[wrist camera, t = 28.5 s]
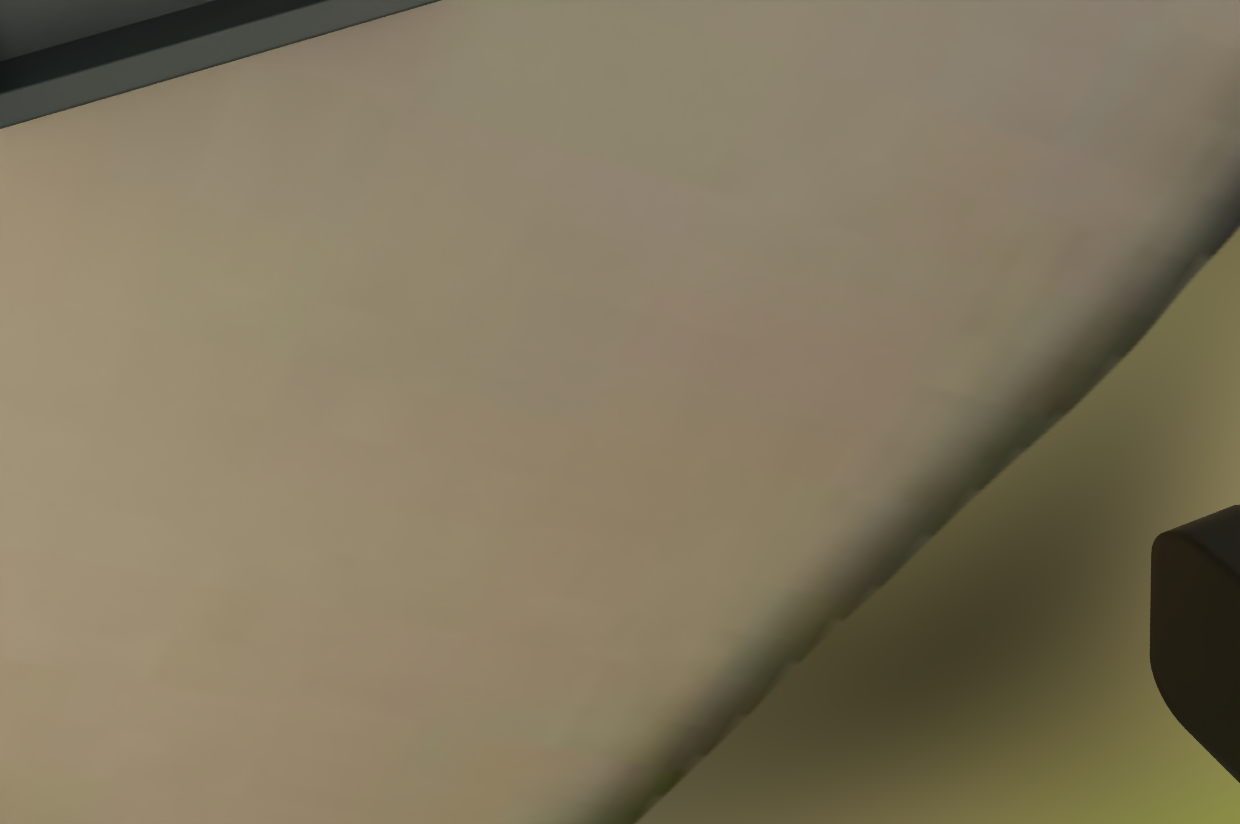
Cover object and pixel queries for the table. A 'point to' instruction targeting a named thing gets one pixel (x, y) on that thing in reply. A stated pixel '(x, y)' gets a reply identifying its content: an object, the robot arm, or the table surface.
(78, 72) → the crate
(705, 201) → the table surface
